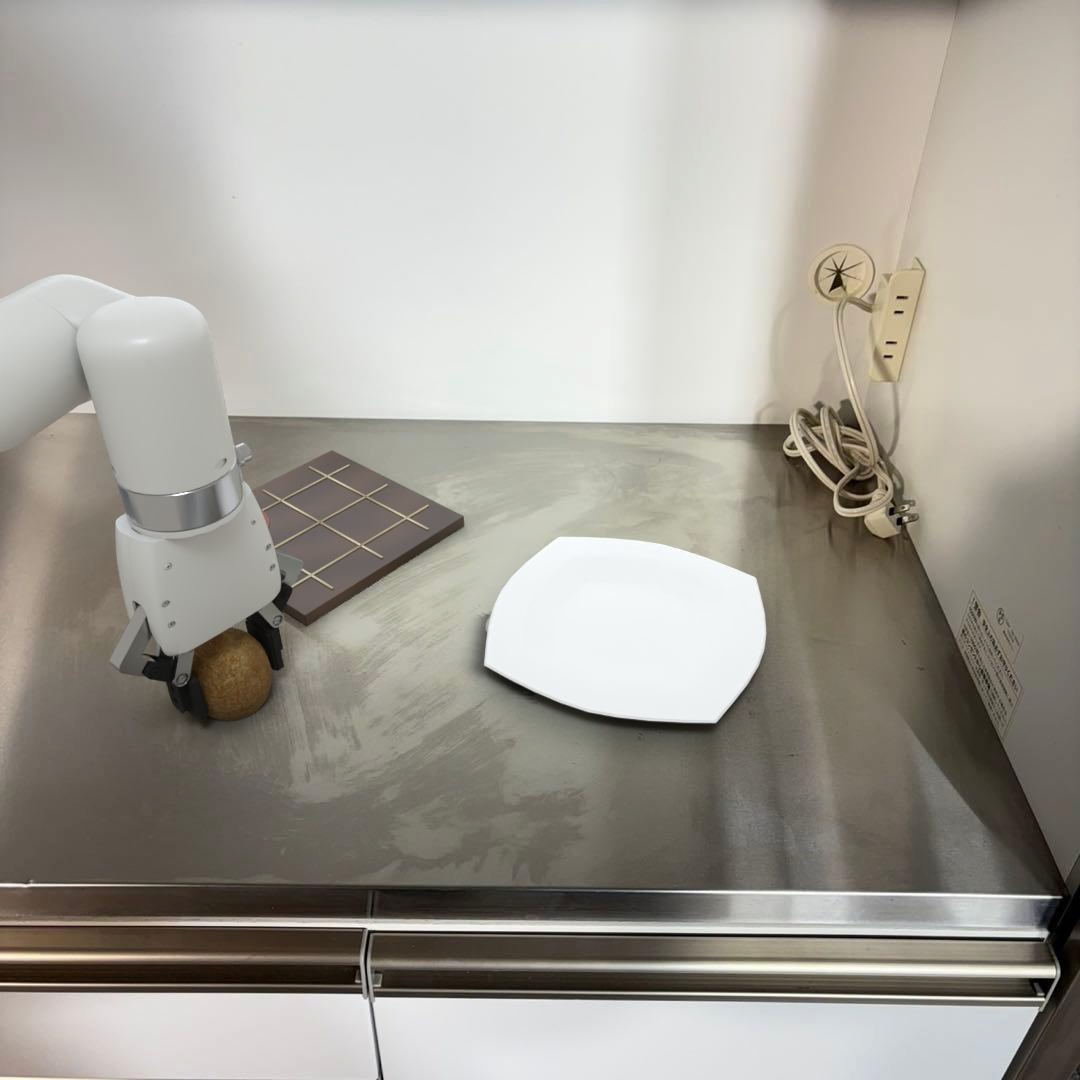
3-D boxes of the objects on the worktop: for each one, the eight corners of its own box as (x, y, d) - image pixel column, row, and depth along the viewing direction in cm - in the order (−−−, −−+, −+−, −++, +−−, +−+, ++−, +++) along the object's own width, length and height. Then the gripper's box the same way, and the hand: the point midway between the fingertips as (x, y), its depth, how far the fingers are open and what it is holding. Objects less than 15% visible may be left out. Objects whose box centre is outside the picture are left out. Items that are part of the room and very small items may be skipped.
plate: (543, 535, 95) (544, 519, 94) (781, 584, 89) (784, 567, 88) (449, 692, 78) (448, 674, 77) (736, 767, 72) (740, 749, 70)
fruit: (239, 674, 79) (221, 598, 75) (296, 703, 77) (280, 626, 72) (180, 721, 75) (156, 644, 70) (237, 753, 72) (217, 676, 68)
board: (174, 539, 95) (171, 528, 94) (333, 459, 107) (331, 448, 106) (306, 626, 84) (304, 614, 83) (464, 525, 97) (464, 514, 96)
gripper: (255, 422, 71) (291, 610, 82) (26, 525, 60) (101, 726, 71) (322, 455, 67) (350, 648, 78) (90, 572, 56) (159, 778, 67)
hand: (231, 684), depth 74 cm, fingers closed on fruit, 6 cm apart
